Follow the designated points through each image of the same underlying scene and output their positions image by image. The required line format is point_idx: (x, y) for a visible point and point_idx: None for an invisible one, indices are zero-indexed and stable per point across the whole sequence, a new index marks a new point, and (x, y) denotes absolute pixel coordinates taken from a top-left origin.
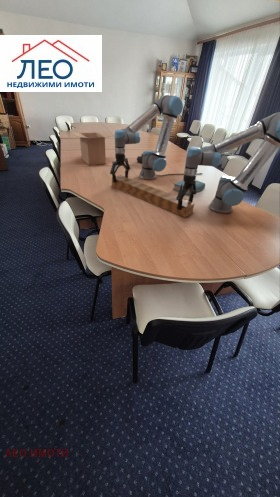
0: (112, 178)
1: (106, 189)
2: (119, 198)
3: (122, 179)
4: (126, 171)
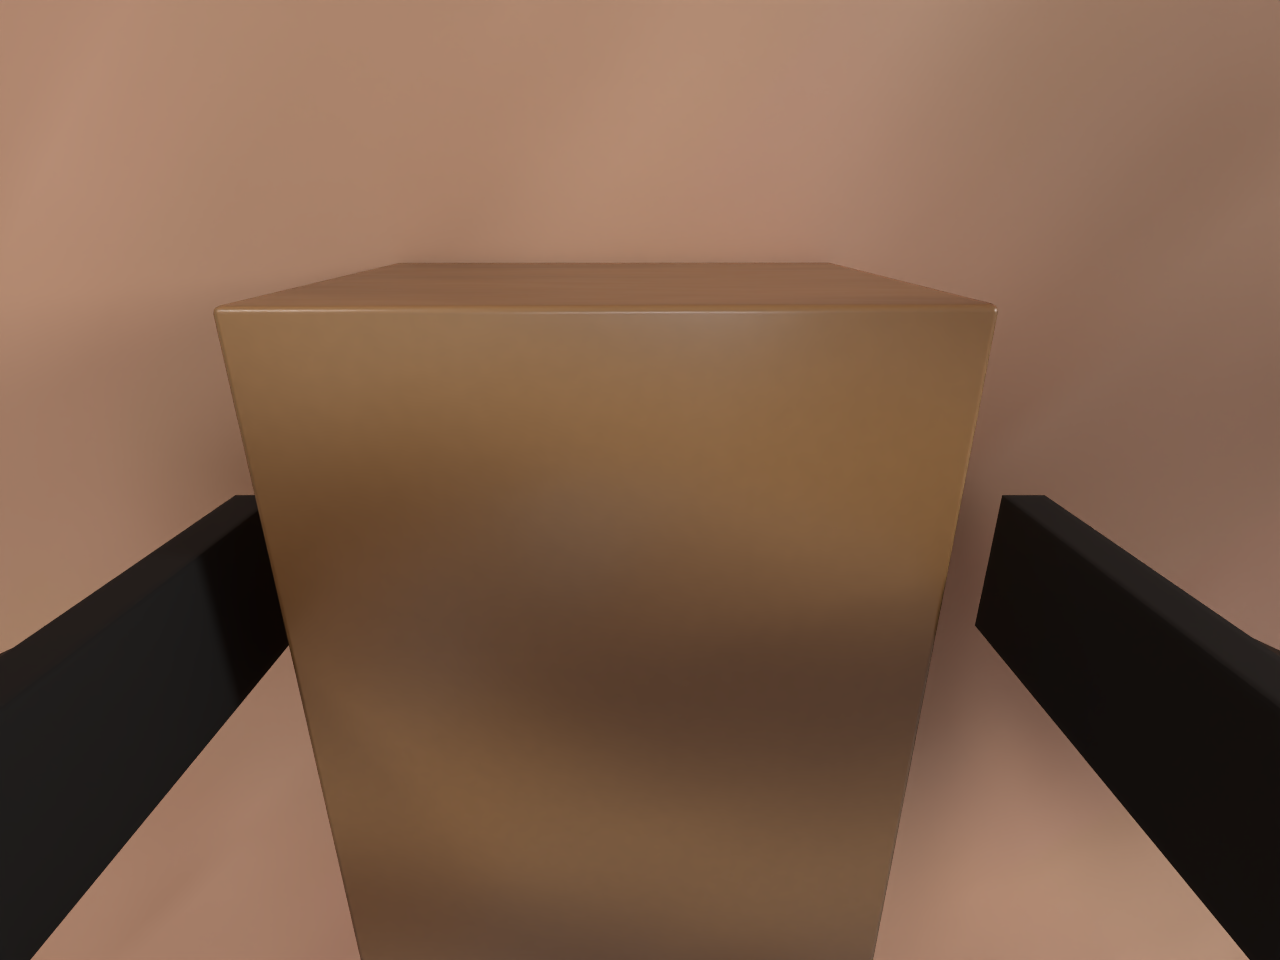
0: (250, 378)
1: (73, 373)
2: (130, 932)
3: (534, 837)
4: (1259, 871)
